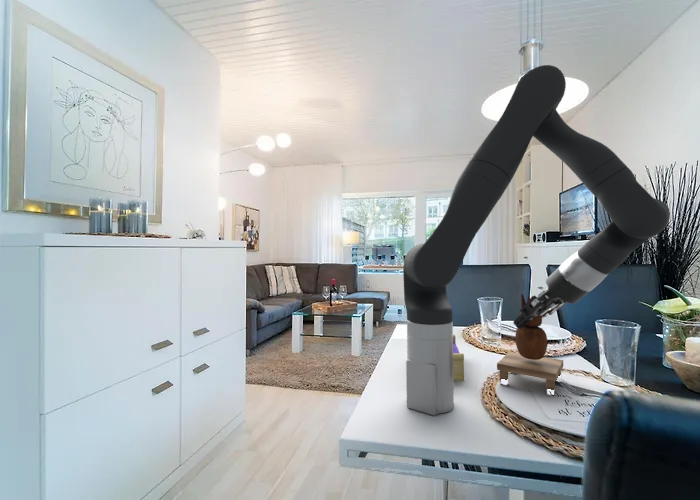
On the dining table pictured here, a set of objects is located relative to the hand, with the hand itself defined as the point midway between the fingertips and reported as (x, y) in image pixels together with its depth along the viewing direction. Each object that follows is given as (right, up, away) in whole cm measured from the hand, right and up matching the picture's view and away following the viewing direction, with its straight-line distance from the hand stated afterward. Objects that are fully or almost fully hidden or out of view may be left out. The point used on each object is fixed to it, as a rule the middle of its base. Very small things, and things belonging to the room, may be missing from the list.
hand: (522, 324), depth 83 cm
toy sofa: (-16, -14, +11) cm, 24 cm away
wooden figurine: (+1, -8, -2) cm, 8 cm away
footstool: (+1, -14, -2) cm, 14 cm away
